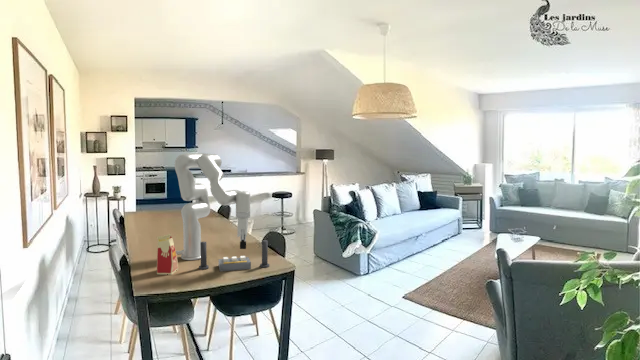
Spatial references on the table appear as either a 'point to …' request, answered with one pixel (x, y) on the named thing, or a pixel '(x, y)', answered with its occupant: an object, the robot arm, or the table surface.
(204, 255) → the post
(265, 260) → the right cable post
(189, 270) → the table surface
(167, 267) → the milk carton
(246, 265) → the switch panel
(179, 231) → the table surface
